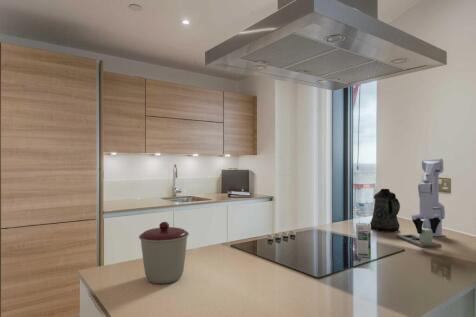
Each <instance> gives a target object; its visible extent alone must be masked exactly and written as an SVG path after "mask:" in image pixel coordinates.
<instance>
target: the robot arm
mask: <svg viewBox="0 0 476 317" xmlns="http://www.w3.org/2000/svg"><path fill="white" fill-rule="evenodd" d="M421 168H422V171H423V172H424V174H422V176H421V181H420V183H418V186H417V191H418V198H419V213H418V214H412V215H411V220H412V221H411V222H413V225H414V226H415V228H416V229H415V230H416V233H417V234H422V228H427V229H431V230H432V237H446V236H447V234H444V233H443V220H445V219H446V218H445V216H446V211H445V210H446V209H445V205H444V204H443V203H441V202H440V201H439V199H440V198H439V197H440V196H439V186H440V185H439V176H440V174H442V173H444V160H443V158H423V159H422V160H421Z"/></svg>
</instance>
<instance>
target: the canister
mask: <svg viewBox="0 0 476 317" xmlns="http://www.w3.org/2000/svg"><path fill="white" fill-rule="evenodd" d="M189 235H190V232H188V231H187V230H186V229H183V228H181V227H175V226H174V227H173V226H172V227H171V226H170V223H169V222H167V221H161V222H160V223H159V227H155V228H150V229H147V230H145V231H143V232H142V233H141V234H139V235H138V239H139V240H140V242H141V243H140V246H141V252H142V260H143V261H142V262H143V267H144V269H143V270H144V274H145V277H146V279H147V281H148V282H150V283H153V284H164V285H166V284H169V283H174V282H177V281H178V280H179V279H180V278H181V277H182V276H183V273H184V270H185V269H184V268H185V262H186V261H185V260H186V252H187V251H186V250H187V244H188V242H187V241H188V237H189Z"/></svg>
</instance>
